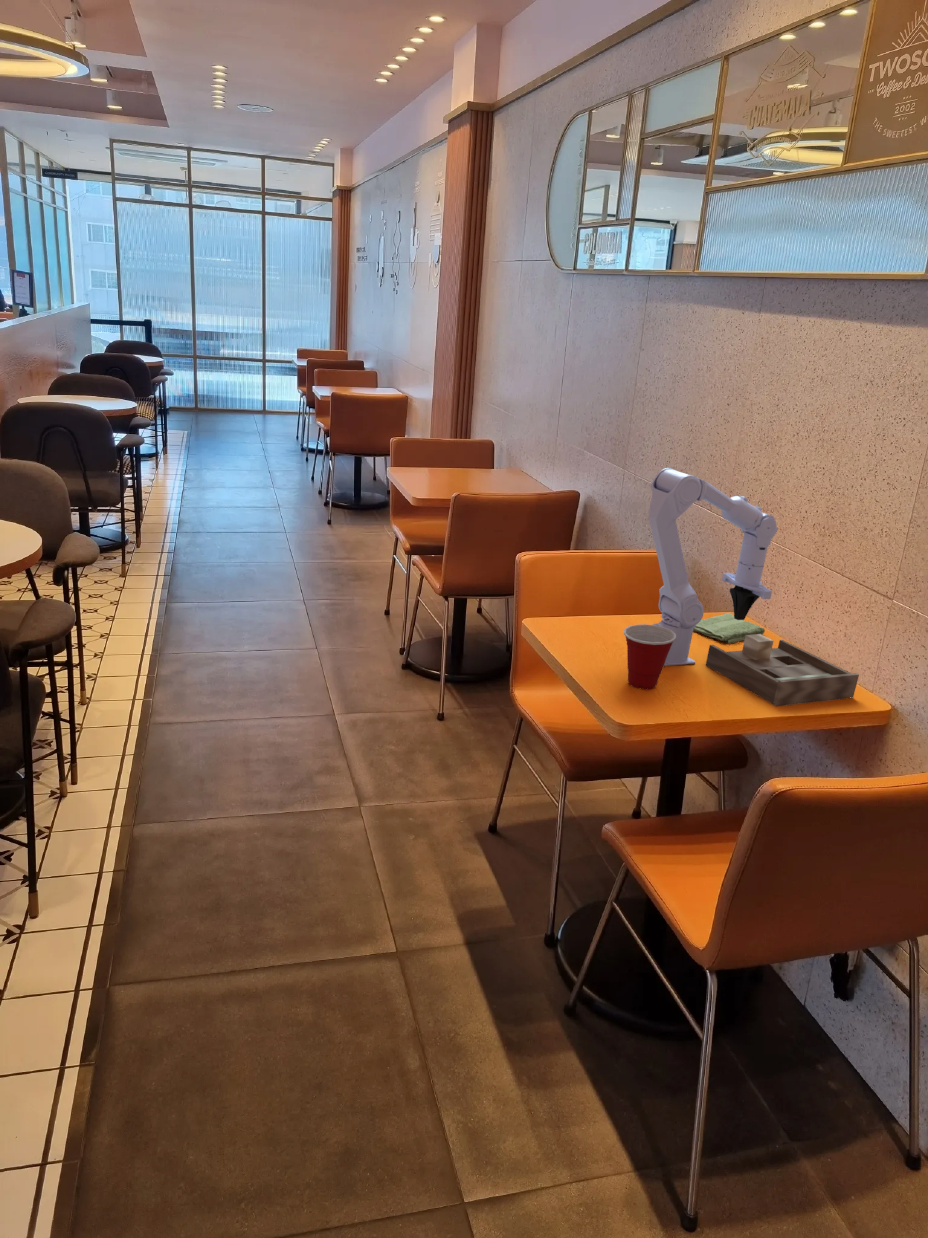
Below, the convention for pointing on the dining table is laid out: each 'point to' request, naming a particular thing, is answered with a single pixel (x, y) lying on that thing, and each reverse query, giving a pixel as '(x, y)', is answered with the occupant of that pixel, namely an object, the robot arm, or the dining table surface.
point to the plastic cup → (647, 653)
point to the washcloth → (727, 628)
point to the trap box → (785, 675)
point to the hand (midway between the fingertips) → (739, 619)
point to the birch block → (757, 646)
